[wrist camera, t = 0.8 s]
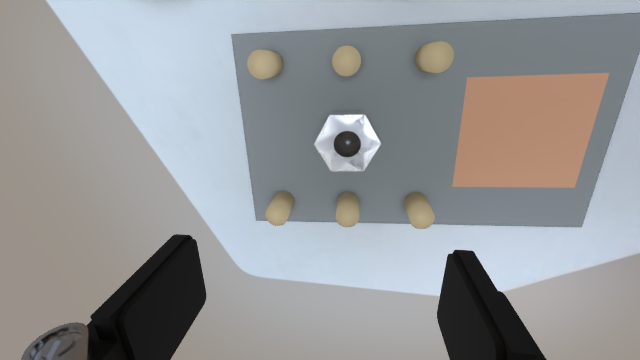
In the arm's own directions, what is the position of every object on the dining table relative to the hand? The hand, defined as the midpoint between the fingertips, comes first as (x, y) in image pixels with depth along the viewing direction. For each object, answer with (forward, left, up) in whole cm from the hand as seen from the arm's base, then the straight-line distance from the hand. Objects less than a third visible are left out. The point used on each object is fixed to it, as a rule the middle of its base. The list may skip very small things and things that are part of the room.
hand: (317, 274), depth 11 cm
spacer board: (-8, +1, -24) cm, 26 cm away
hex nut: (-1, +1, -24) cm, 24 cm away
